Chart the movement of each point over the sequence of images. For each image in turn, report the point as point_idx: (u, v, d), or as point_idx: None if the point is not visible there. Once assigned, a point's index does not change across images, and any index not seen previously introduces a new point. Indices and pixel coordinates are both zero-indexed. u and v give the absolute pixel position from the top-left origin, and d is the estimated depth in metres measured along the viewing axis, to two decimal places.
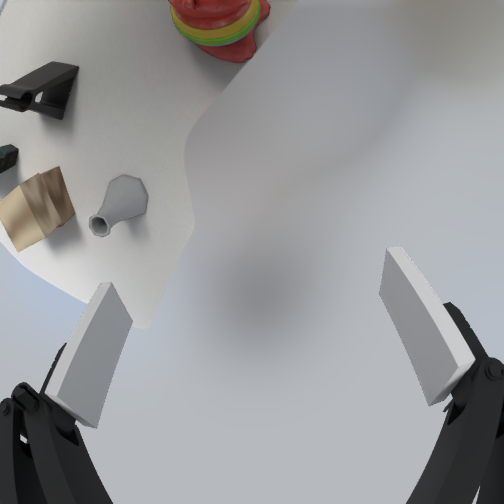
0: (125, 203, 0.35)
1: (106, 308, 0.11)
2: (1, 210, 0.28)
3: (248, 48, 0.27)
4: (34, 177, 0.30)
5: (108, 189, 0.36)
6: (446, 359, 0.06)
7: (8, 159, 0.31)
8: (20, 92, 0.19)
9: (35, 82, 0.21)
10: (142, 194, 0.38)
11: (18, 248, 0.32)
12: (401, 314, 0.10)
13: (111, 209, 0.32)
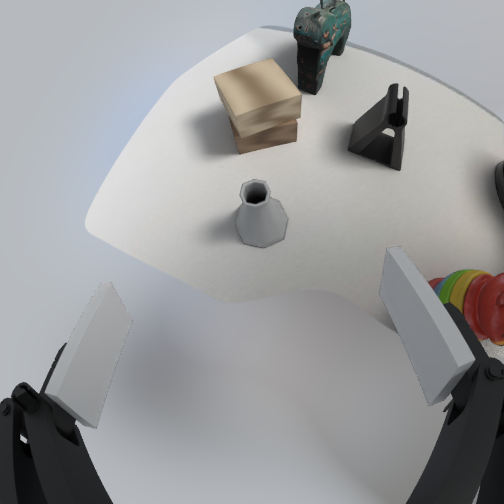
0: (266, 224, 0.32)
1: (106, 308, 0.11)
2: (268, 65, 0.32)
3: None
4: (299, 112, 0.34)
5: (276, 201, 0.35)
6: (446, 359, 0.06)
7: (310, 83, 0.39)
8: (406, 116, 0.26)
9: (402, 129, 0.30)
10: (268, 242, 0.36)
11: (218, 78, 0.32)
12: (401, 314, 0.10)
13: (267, 208, 0.30)
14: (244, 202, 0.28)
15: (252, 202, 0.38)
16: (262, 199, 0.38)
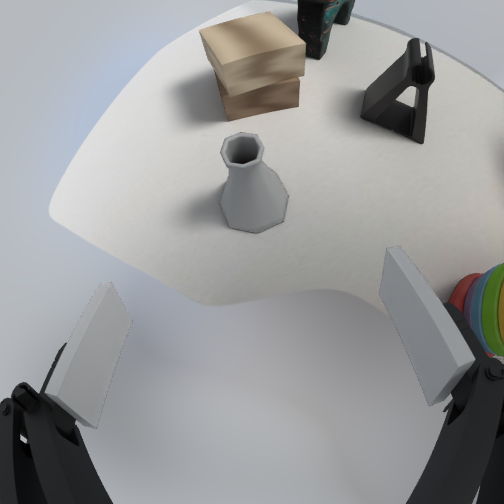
0: (259, 198, 0.24)
1: (106, 308, 0.11)
2: (264, 17, 0.23)
3: None
4: (302, 67, 0.25)
5: (273, 172, 0.26)
6: (446, 359, 0.06)
7: (313, 45, 0.30)
8: (433, 70, 0.18)
9: None
10: (262, 225, 0.27)
11: (205, 31, 0.23)
12: (401, 314, 0.10)
13: (260, 174, 0.21)
14: (226, 162, 0.19)
15: None
16: None
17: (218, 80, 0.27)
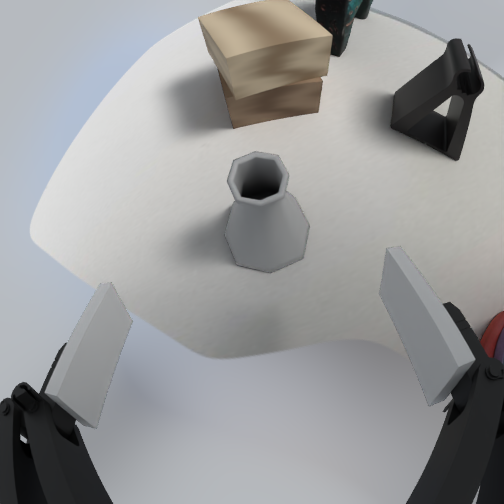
0: (277, 236, 0.18)
1: (106, 308, 0.11)
2: (278, 4, 0.18)
3: None
4: (326, 65, 0.20)
5: (292, 197, 0.21)
6: (446, 359, 0.06)
7: (333, 39, 0.25)
8: None
9: None
10: (277, 264, 0.22)
11: (205, 18, 0.18)
12: (401, 314, 0.10)
13: (281, 209, 0.16)
14: (236, 196, 0.14)
15: (252, 198, 0.24)
16: (268, 194, 0.24)
17: (221, 78, 0.22)
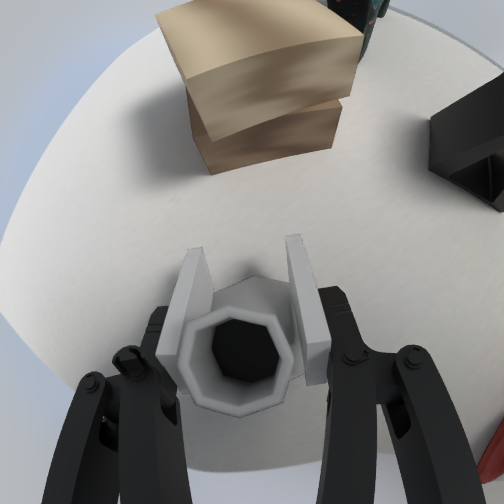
0: None
1: (200, 271, 0.13)
2: None
3: (493, 479, 0.09)
4: (349, 82, 0.13)
5: None
6: (304, 336, 0.09)
7: None
8: None
9: None
10: None
11: (165, 14, 0.11)
12: (293, 296, 0.12)
13: None
14: (195, 396, 0.07)
15: None
16: None
17: (190, 103, 0.15)
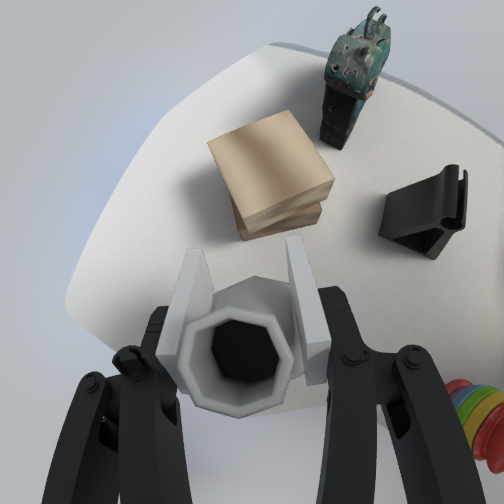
0: None
1: (200, 271, 0.13)
2: (284, 123, 0.25)
3: None
4: (326, 195, 0.27)
5: None
6: (304, 336, 0.09)
7: (337, 136, 0.32)
8: (465, 220, 0.20)
9: None
10: None
11: (214, 145, 0.25)
12: (293, 296, 0.12)
13: None
14: (195, 397, 0.07)
15: None
16: None
17: (233, 204, 0.29)
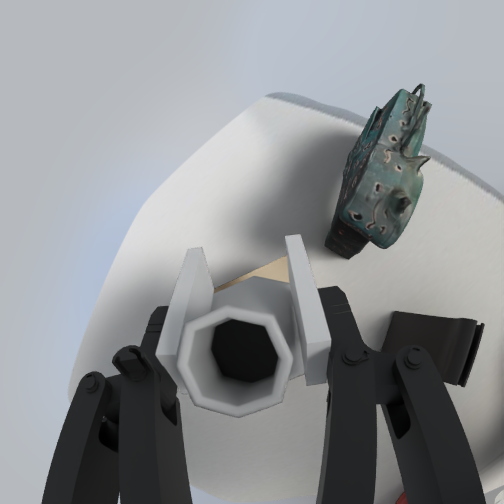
0: None
1: (200, 270, 0.13)
2: (283, 277, 0.22)
3: None
4: None
5: None
6: (304, 336, 0.09)
7: (345, 251, 0.29)
8: (466, 381, 0.17)
9: None
10: None
11: None
12: (293, 296, 0.12)
13: None
14: (194, 396, 0.07)
15: None
16: None
17: None
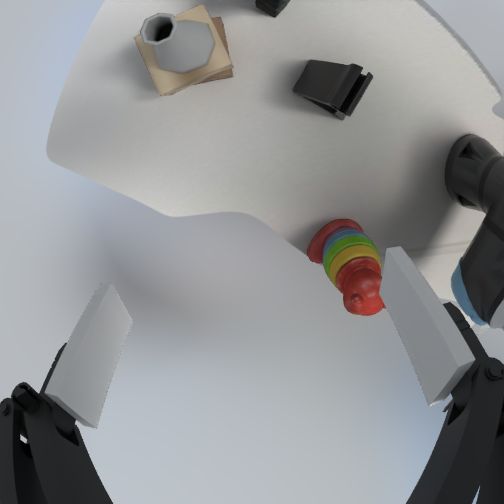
0: (180, 54, 0.21)
1: (106, 308, 0.11)
2: (196, 17, 0.22)
3: (317, 261, 0.49)
4: (231, 67, 0.28)
5: (200, 26, 0.21)
6: (446, 359, 0.06)
7: (269, 9, 0.26)
8: (351, 111, 0.27)
9: None
10: (187, 69, 0.24)
11: (139, 39, 0.23)
12: (401, 314, 0.10)
13: (178, 41, 0.18)
14: (144, 40, 0.16)
15: None
16: (188, 21, 0.22)
17: None
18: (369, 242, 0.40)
